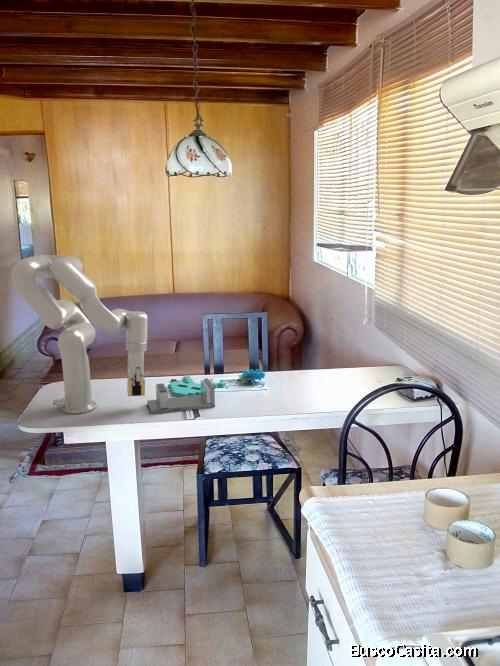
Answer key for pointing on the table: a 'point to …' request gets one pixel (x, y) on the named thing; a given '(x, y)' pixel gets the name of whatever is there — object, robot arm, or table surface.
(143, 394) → the brass block
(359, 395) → the table surface
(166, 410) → the vise bed
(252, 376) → the blue flower cluster
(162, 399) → the sliding jaw
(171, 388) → the alien figure
